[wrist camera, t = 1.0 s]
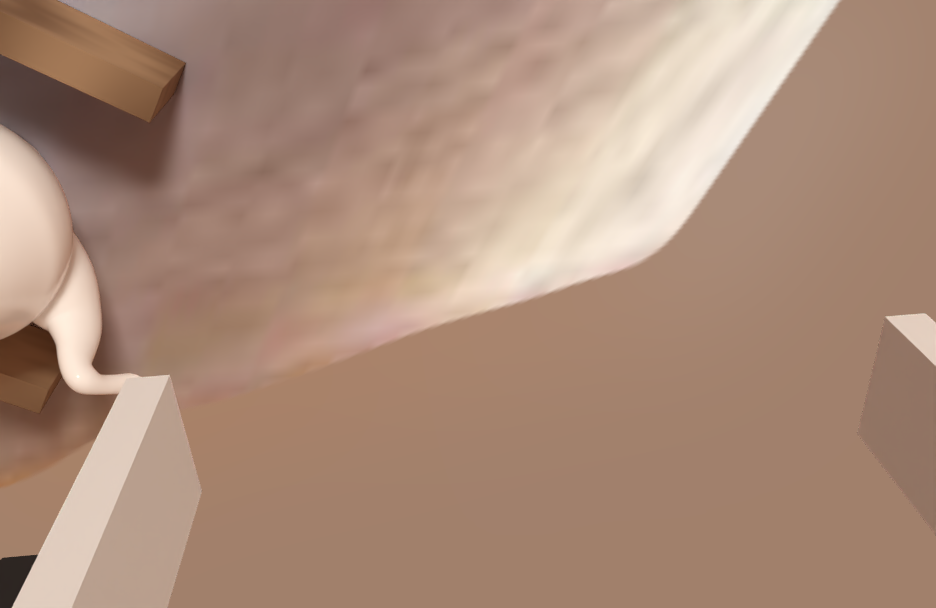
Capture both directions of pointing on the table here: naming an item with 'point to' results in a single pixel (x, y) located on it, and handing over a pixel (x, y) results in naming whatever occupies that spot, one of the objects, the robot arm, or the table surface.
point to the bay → (99, 75)
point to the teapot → (47, 267)
